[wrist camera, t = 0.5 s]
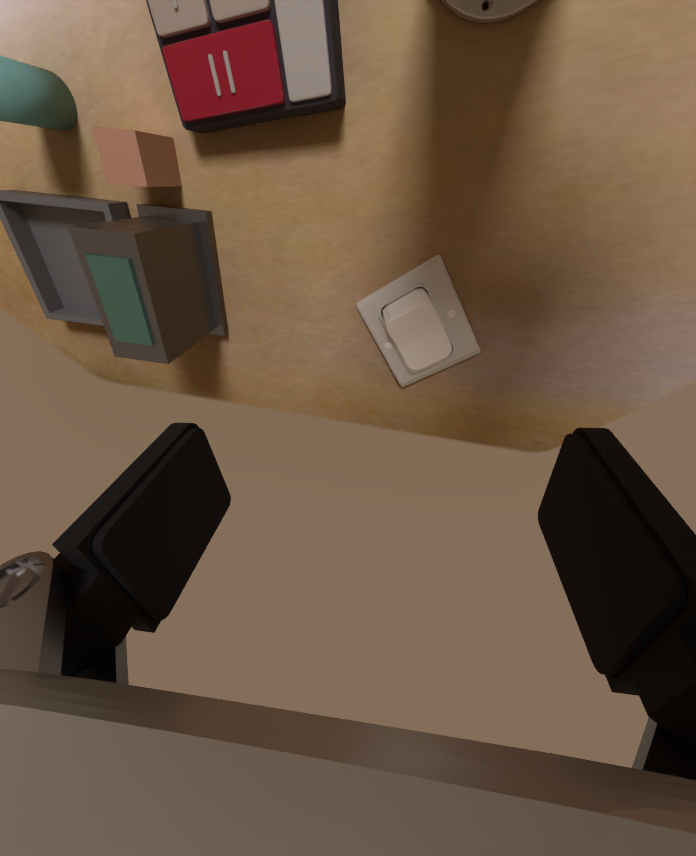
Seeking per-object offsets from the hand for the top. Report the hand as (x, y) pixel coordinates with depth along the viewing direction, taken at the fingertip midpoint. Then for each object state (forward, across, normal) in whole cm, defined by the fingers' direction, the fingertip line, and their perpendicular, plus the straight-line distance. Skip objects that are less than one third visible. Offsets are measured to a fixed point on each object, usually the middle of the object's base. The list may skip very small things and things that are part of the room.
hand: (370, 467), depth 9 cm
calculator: (+36, +12, -18) cm, 42 cm away
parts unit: (+35, +26, +1) cm, 43 cm away
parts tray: (+35, +39, -2) cm, 52 cm away
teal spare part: (+35, +34, -16) cm, 51 cm away
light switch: (+36, -2, +8) cm, 37 cm away
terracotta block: (+35, +25, -10) cm, 44 cm away
